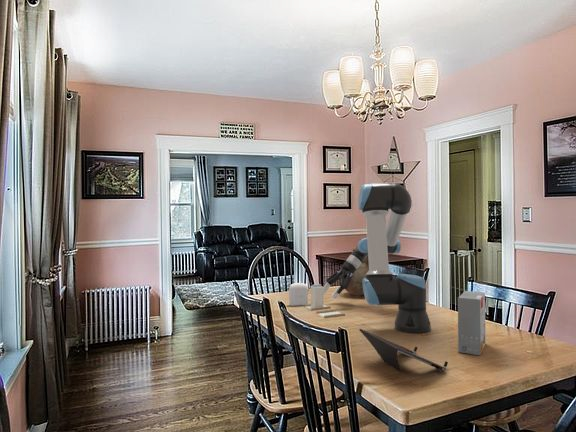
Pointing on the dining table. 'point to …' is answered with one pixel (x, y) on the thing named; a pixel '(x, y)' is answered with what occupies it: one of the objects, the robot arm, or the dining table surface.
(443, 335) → the dining table surface
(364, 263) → the jug
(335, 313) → the dock board
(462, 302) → the hard drive box
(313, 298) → the white rectangular box
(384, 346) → the portable electronic device stand
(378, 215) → the robot arm
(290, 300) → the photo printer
